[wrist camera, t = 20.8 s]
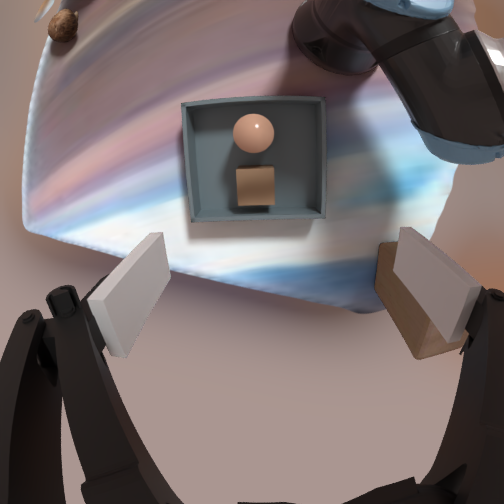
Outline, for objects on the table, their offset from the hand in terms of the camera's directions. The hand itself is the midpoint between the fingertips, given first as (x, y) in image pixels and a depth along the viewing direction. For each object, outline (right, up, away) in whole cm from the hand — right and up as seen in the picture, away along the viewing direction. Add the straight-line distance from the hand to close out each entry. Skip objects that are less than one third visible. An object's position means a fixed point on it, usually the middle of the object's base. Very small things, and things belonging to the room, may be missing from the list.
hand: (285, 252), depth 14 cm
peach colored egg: (-1, +17, +23) cm, 29 cm away
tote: (-1, +14, +25) cm, 29 cm away
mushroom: (-36, +43, +14) cm, 58 cm away
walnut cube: (-1, +11, +26) cm, 28 cm away
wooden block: (+26, -2, +32) cm, 41 cm away
